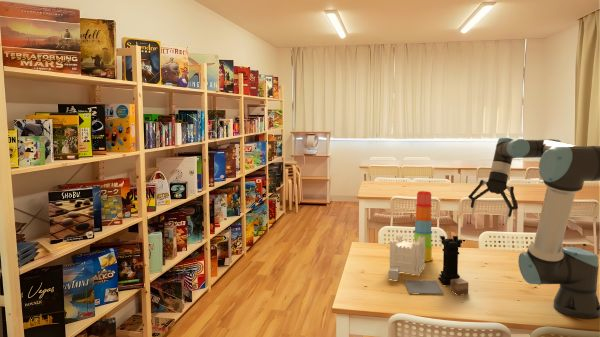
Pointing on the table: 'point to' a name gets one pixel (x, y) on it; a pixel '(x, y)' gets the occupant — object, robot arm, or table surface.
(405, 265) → the castle model
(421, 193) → the stacking cups
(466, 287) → the walnut cube
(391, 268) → the grey plastic box
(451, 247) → the chess piece
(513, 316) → the table surface
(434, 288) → the felt mat
